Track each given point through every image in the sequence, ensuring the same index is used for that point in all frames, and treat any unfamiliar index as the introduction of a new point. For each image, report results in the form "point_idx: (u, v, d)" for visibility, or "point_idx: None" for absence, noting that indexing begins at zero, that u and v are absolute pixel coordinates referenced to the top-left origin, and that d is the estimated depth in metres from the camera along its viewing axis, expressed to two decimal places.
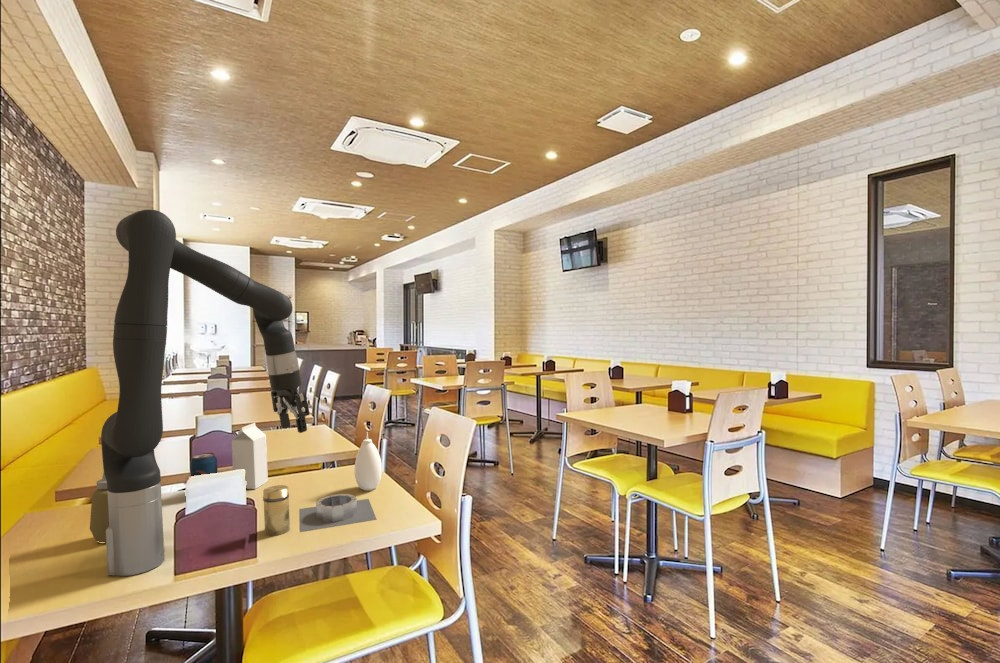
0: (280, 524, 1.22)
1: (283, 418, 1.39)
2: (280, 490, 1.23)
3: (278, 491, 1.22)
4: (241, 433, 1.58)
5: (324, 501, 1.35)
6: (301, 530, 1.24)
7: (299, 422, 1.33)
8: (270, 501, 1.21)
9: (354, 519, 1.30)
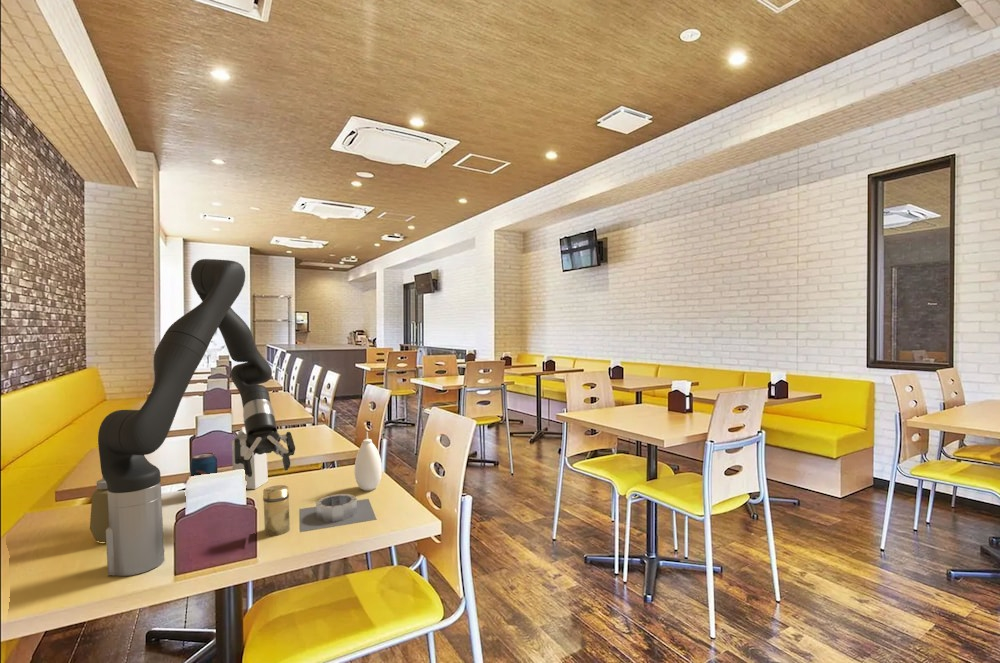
0: (280, 524, 1.22)
1: None
2: (280, 490, 1.23)
3: (278, 491, 1.22)
4: (241, 433, 1.58)
5: (324, 501, 1.35)
6: (301, 530, 1.24)
7: (287, 457, 1.35)
8: (270, 501, 1.21)
9: (354, 519, 1.30)
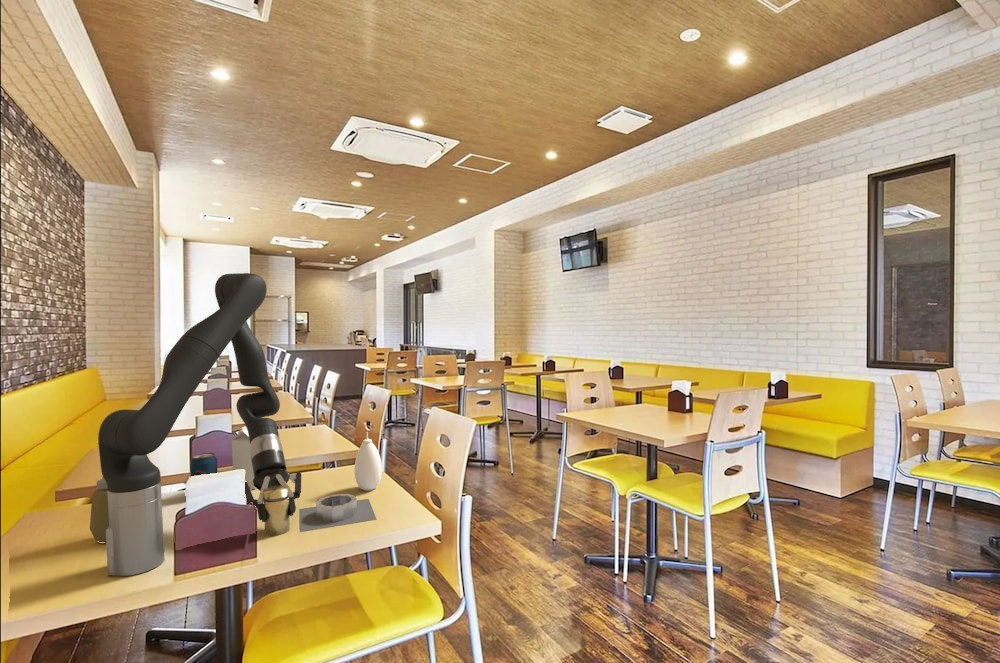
0: (280, 524, 1.22)
1: None
2: (280, 490, 1.23)
3: (278, 491, 1.22)
4: (241, 433, 1.58)
5: (324, 501, 1.35)
6: (301, 530, 1.24)
7: (292, 501, 1.26)
8: (270, 501, 1.21)
9: (354, 519, 1.30)
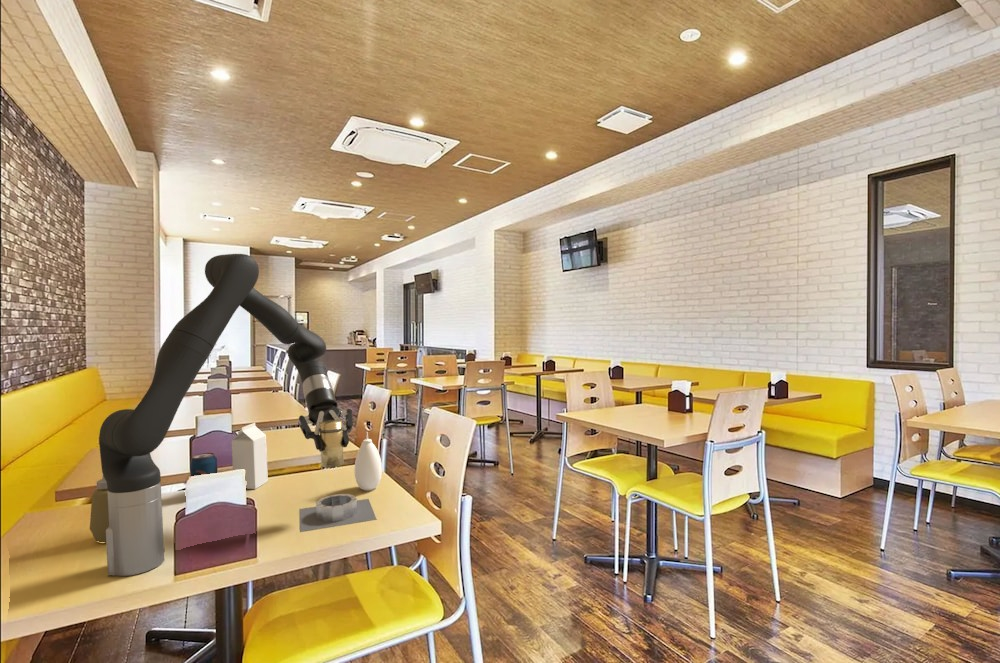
0: (336, 454, 1.31)
1: None
2: (335, 422, 1.32)
3: (334, 423, 1.31)
4: (241, 433, 1.58)
5: (324, 501, 1.35)
6: (301, 530, 1.24)
7: (346, 434, 1.35)
8: (326, 432, 1.30)
9: (354, 519, 1.30)
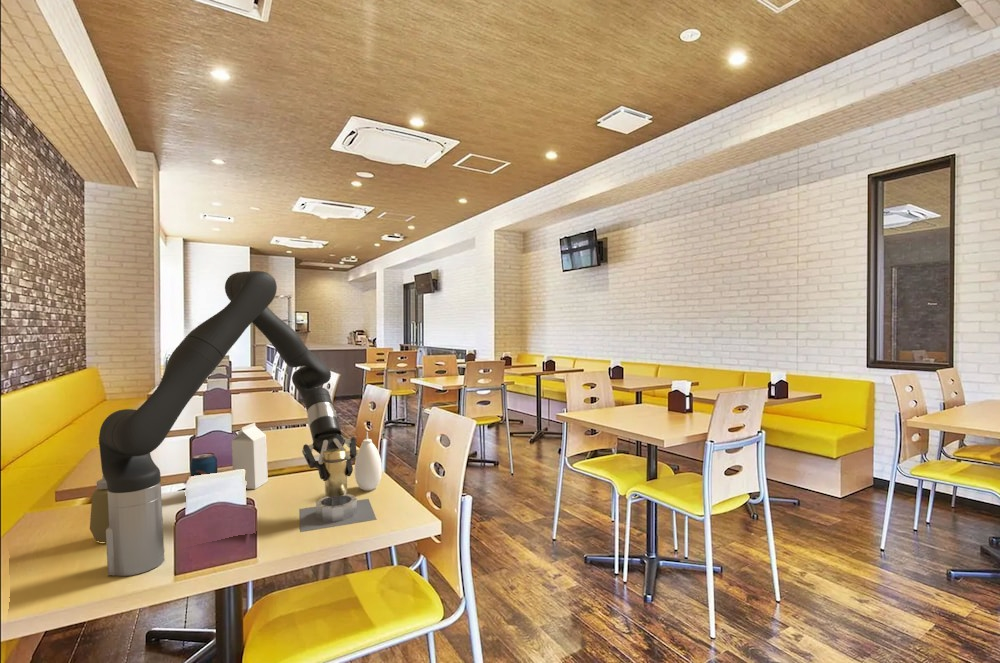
0: (340, 483, 1.32)
1: None
2: (339, 452, 1.33)
3: (338, 452, 1.32)
4: (241, 433, 1.58)
5: (324, 501, 1.35)
6: (301, 530, 1.24)
7: (349, 463, 1.35)
8: (330, 462, 1.31)
9: (354, 519, 1.30)
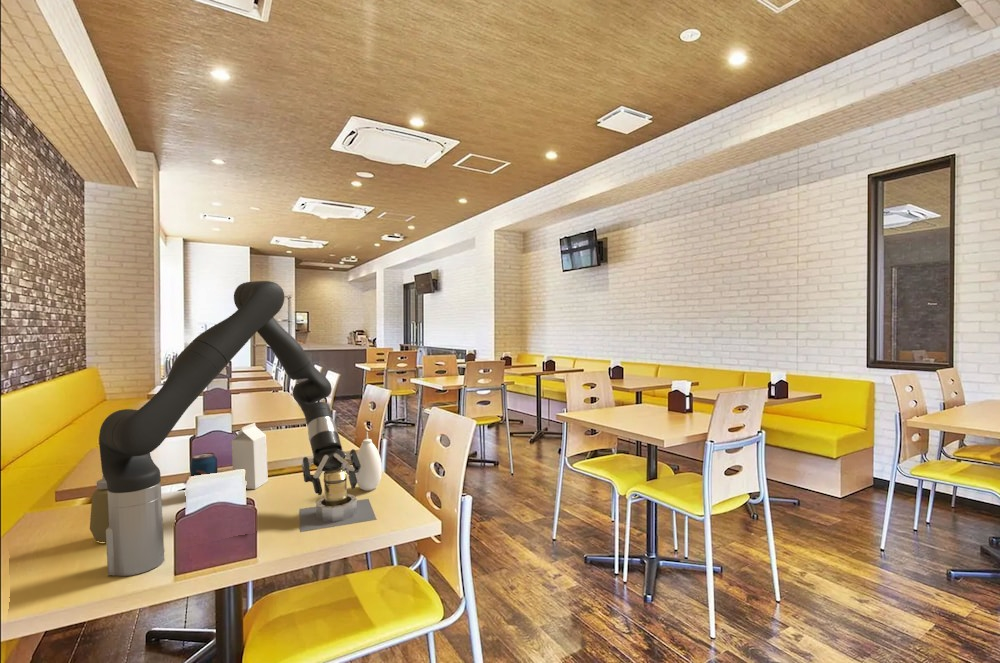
0: (340, 504, 1.32)
1: None
2: (339, 473, 1.33)
3: (338, 473, 1.32)
4: (241, 433, 1.58)
5: (324, 501, 1.35)
6: (301, 530, 1.24)
7: (354, 475, 1.37)
8: (331, 483, 1.31)
9: (354, 519, 1.30)
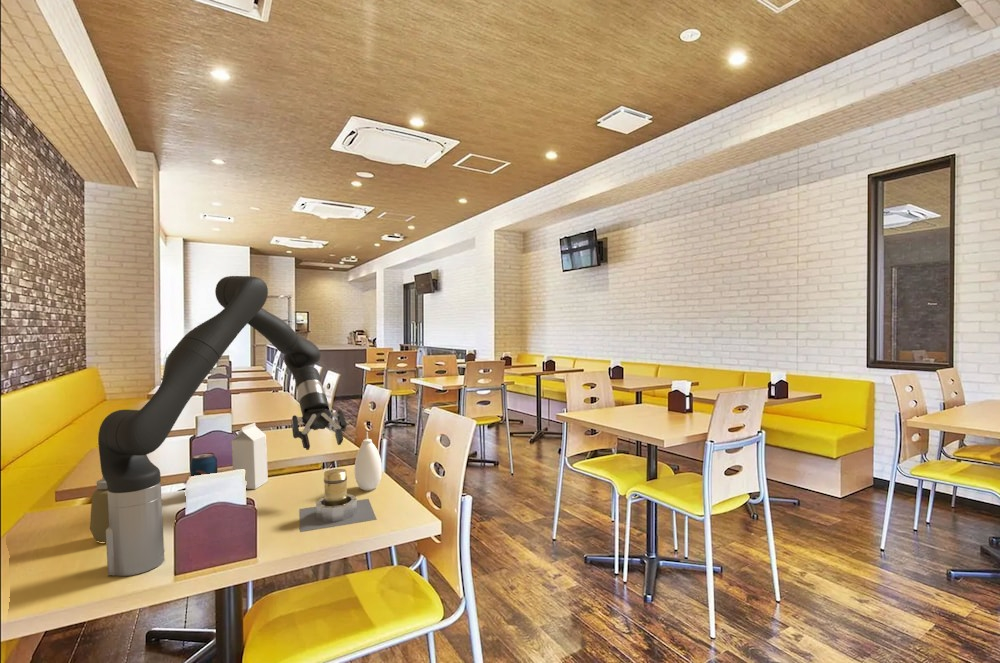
0: (340, 504, 1.32)
1: None
2: (340, 473, 1.33)
3: (338, 473, 1.32)
4: (241, 433, 1.58)
5: (324, 501, 1.35)
6: (301, 530, 1.24)
7: (340, 433, 1.46)
8: (331, 483, 1.31)
9: (354, 519, 1.30)
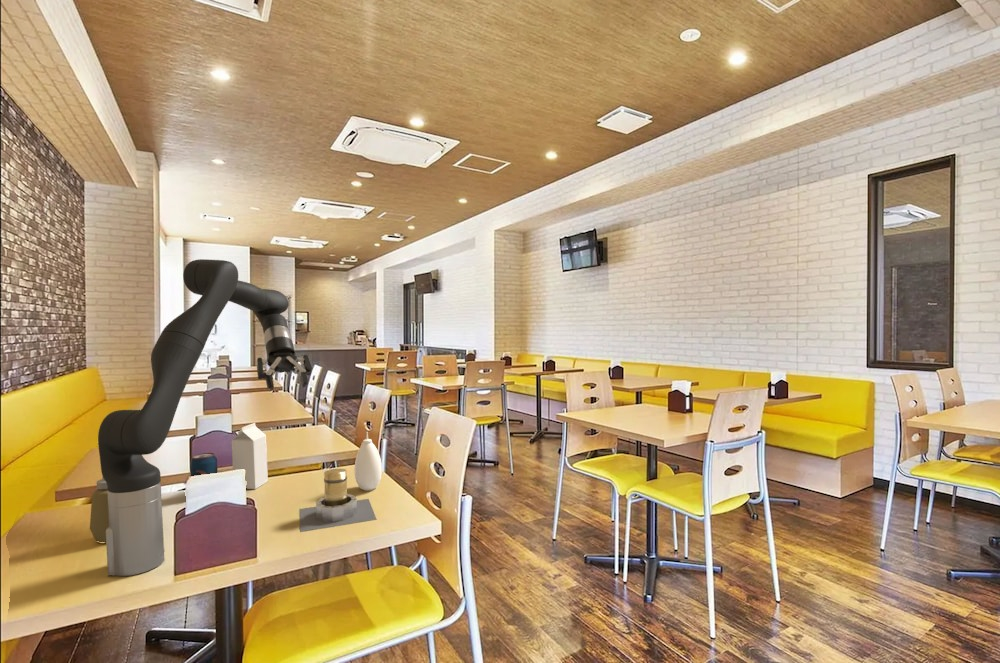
0: (340, 504, 1.32)
1: None
2: (340, 472, 1.33)
3: (339, 473, 1.32)
4: (241, 433, 1.58)
5: (324, 501, 1.35)
6: (301, 530, 1.24)
7: (305, 375, 1.48)
8: (331, 482, 1.31)
9: (354, 519, 1.30)
